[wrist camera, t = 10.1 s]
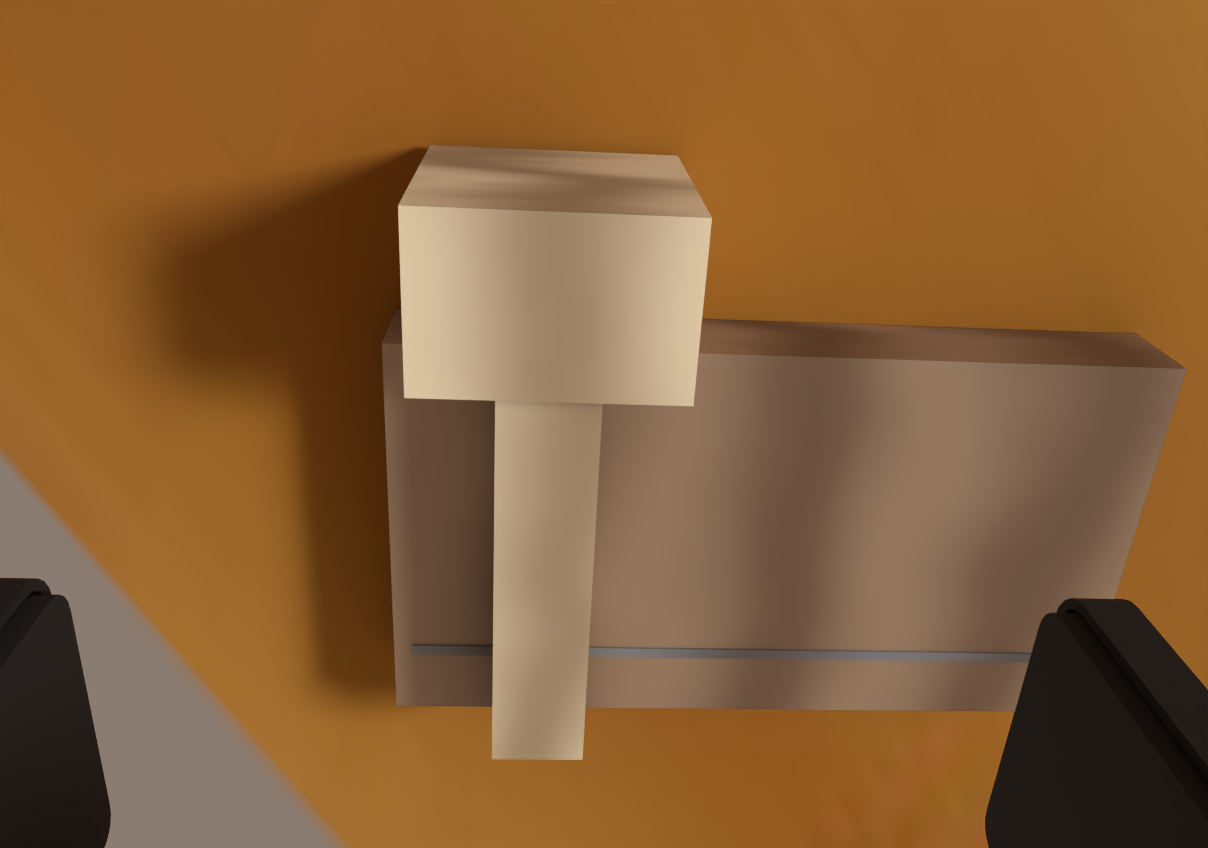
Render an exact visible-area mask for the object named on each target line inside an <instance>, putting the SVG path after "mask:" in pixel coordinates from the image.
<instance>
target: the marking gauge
mask: <svg viewBox="0 0 1208 848" xmlns="http://www.w3.org/2000/svg"><path fill="white" fill-rule="evenodd" d="M398 221H399V252H400V284H401V315H402V346H403V378H404V398H417V399H452V400H487V401H495V471H494V584H493V696H492V759H549V760H582V758H583V740H584V723H585V705H586V688H587V670H588V653H589V635H590V618H591V600H592V583H593V565H594V548H595V530H596V513H597V495H598V478H599V460H600V443H601V425H602V408H603V404H628V405H663V406H694V396H695V385H696V375H697V365H698V355H699V345H700V334H701V324H702V314H703V304H704V293H705V283H706V273H707V263H708V253H709V242H710V232H711V222H712V217H711V216H710V214H709V212H708V210H707V208H706V206H705V205H704V203H703V201H702V199H701V197H700V196H699V194H698V192H697V190H696V188H695V186H694V185H693V183H692V181H691V179H690V177H689V175H688V174H687V172H686V170H685V168H684V166H683V165H682V163H681V161H680V159H679V157H678V156H673V155H651V154H628V153H605V152H583V151H560V150H537V149H514V148H492V147H469V146H446V145H430V146H429V148H428V150H427V152H426V154H425V156H424V158H423V159H422V161H421V163H420V165H419V167H418V169H417V171H416V173H415V174H414V176H413V178H412V180H411V182H410V184H409V186H408V188H407V189H406V191H405V193H404V195H403V197H402V199H401V201H400V203H399V205H398Z"/></svg>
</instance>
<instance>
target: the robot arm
mask: <svg viewBox="0 0 1208 848" xmlns="http://www.w3.org/2000/svg"><path fill="white" fill-rule="evenodd" d="M110 818H111V812H110V804H109V799H108V794H107V789H106V784H105V779H104V774H103V769H102V764H101V759H100V754H99V749H98V744H97V739H96V734H95V729H94V724H93V720H92V714H91V709H90V705H89V700H88V694H87V689H86V684H85V679H84V675H83V669H82V665H81V660H80V655H79V650H78V645H77V640H76V635H75V630H74V625H73V620H72V615H71V610H70V607H69V603H68V601H67V600H66V598H65V597H64V596H62V595H51V592H50V589H49V587H48V586H47V584H46V583H45V581H42V580H40V579H27V578H25V579H24V578H0V848H104V847H105V845H106V842H107V838H108V834H109V829H110ZM985 829H986V838H987V842H988V846H989V848H1208V690H1207V689H1206V687H1205V686H1204V685H1203V684H1202V683H1201V681H1200V680H1199V679H1198V678H1197V677H1196V676H1195V674H1194V673H1193V672H1192V671H1191V670H1190V669H1189V667H1188V666H1187V665H1186V664H1185V663H1184V661H1183V660H1182V659H1181V658H1180V657H1179V656H1178V654H1177V653H1176V652H1175V651H1174V650H1173V648H1172V647H1171V646H1170V645H1169V644H1168V643H1167V641H1166V640H1165V639H1164V638H1163V637H1162V636H1161V634H1160V633H1159V632H1158V631H1157V630H1156V628H1155V627H1154V626H1153V625H1152V624H1151V623H1150V621H1149V620H1148V619H1147V618H1146V617H1145V615H1144V614H1143V613H1142V612H1141V611H1140V610H1139V608H1138V607H1137V606H1135V605H1134V604H1133V603H1132V602H1131V601H1128V600H1124V599H1091V598H1070V599H1067V600H1064V601H1063V602H1062V603H1061V605H1060V606H1059V607H1058V609H1057V612H1056V613H1048V614H1046V615H1045V616H1044V617H1043V618H1042V620H1041V623H1040V625H1039V628H1038V632H1037V635H1036V639H1035V642H1034V646H1033V649H1032V653H1031V656H1030V660H1029V663H1028V667H1027V670H1026V674H1025V677H1024V681H1023V684H1022V688H1021V692H1020V695H1019V699H1018V702H1017V706H1016V709H1015V713H1014V716H1013V720H1012V723H1011V727H1010V730H1009V734H1008V737H1007V741H1006V744H1005V748H1004V751H1003V755H1002V758H1001V762H1000V765H999V769H998V772H997V776H996V779H995V783H994V787H993V790H992V794H991V797H990V801H989V804H988V808H987V812H986V817H985Z"/></svg>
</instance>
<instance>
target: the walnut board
mask: <svg viewBox="0 0 1208 848" xmlns="http://www.w3.org/2000/svg"><path fill="white" fill-rule="evenodd" d="M382 363H383V388H384V412H385V437H386V461H387V486H388V510H389V534H390V559H391V583H392V608H393V632H394V657H395V681H396V706H483V707H492V696H493V584H494V471H495V401H487V400H452V399H417V398H404V378H403V346H402V315H401V309H395V311H394V314H393V316H392V319H391V321H390V324H389V326H388V329H387V331H386V334H385V336H384V339H383V341H382ZM1185 372H1186V368H1184V367H1183V366H1182V365H1180V364H1179V363H1177V362H1176V361H1174V360H1173V359H1172V358H1170V357H1169V356H1167V355H1166V354H1164V353H1163V352H1162V351H1160V350H1159V349H1157V348H1156V347H1154V346H1153V345H1152V344H1150V343H1149V342H1147V341H1146V340H1144V339H1143V338H1142V337H1140V336H1139V335H1137V334H1128V333H1099V332H1069V331H1040V330H1010V329H981V328H952V327H922V326H893V325H863V324H834V323H804V322H775V321H745V320H716V319H702V324H701V334H700V345H699V355H698V365H697V375H696V385H695V396H694V406H663V405H628V404H603V408H602V425H601V443H600V460H599V478H598V495H597V513H596V530H595V548H594V565H593V583H592V600H591V618H590V635H589V653H588V670H587V688H586V705H585V707H587V708H692V709H797V710H901V711H1006V712H1015V709H1016V706H1017V702H1018V699H1019V695H1020V692H1021V688H1022V684H1023V681H1024V677H1025V674H1026V670H1027V667H1028V663H1029V660H1030V656H1031V653H1032V649H1033V646H1034V642H1035V639H1036V635H1037V632H1038V628H1039V625H1040V623H1041V620H1042V618H1043V617H1044V616H1045V615H1046V614H1048V613H1056V612H1057V609H1058V607H1059V606H1060V605H1061V603H1062V602H1063V601H1064V600H1067V599H1070V598H1091V599H1114V598H1115V595H1116V592H1117V588H1118V585H1119V582H1120V579H1121V576H1122V572H1123V569H1124V566H1125V563H1126V560H1127V557H1128V553H1129V550H1130V547H1131V544H1132V541H1133V537H1134V534H1135V531H1136V528H1137V525H1138V522H1139V518H1140V515H1141V512H1142V509H1143V506H1144V502H1145V499H1146V496H1147V493H1148V490H1149V486H1150V483H1151V480H1152V477H1153V474H1154V471H1155V467H1156V464H1157V461H1158V458H1159V455H1160V451H1161V448H1162V445H1163V442H1164V439H1165V436H1166V432H1167V429H1168V426H1169V423H1170V420H1171V416H1172V413H1173V410H1174V407H1175V404H1176V400H1177V397H1178V394H1179V391H1180V388H1181V385H1182V381H1183V378H1184V375H1185Z"/></svg>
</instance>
